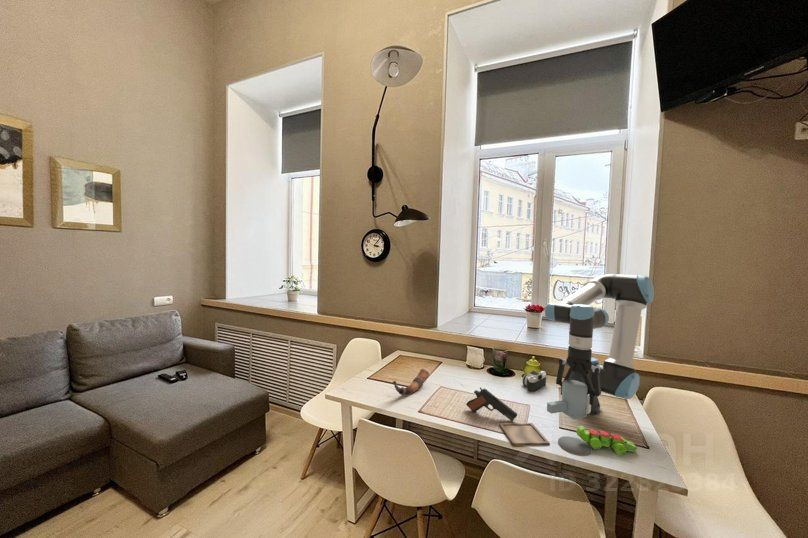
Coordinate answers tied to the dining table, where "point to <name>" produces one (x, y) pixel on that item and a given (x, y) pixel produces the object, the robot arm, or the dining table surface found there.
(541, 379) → the camera
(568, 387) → the grey l-shaped block
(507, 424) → the brown square tray
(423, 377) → the drinking horn
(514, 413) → the handgun
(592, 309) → the robot arm
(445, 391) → the dining table surface
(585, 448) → the disc
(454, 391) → the dining table surface
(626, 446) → the toy crocodile
